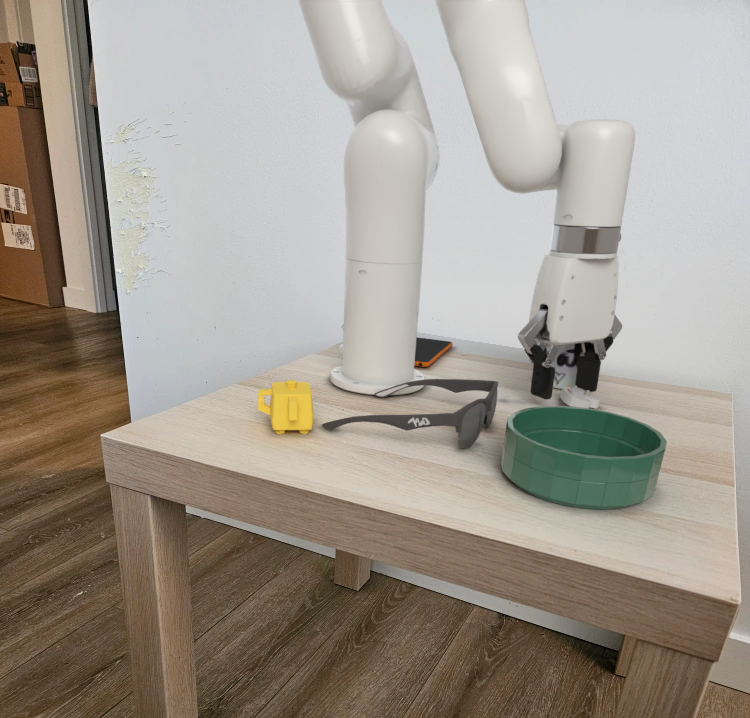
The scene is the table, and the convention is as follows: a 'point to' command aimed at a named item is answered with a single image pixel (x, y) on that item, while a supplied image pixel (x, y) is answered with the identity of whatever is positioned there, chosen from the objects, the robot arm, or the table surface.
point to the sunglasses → (463, 419)
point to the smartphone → (429, 350)
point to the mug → (566, 364)
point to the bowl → (582, 456)
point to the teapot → (288, 406)
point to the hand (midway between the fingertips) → (563, 391)
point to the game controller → (578, 397)
